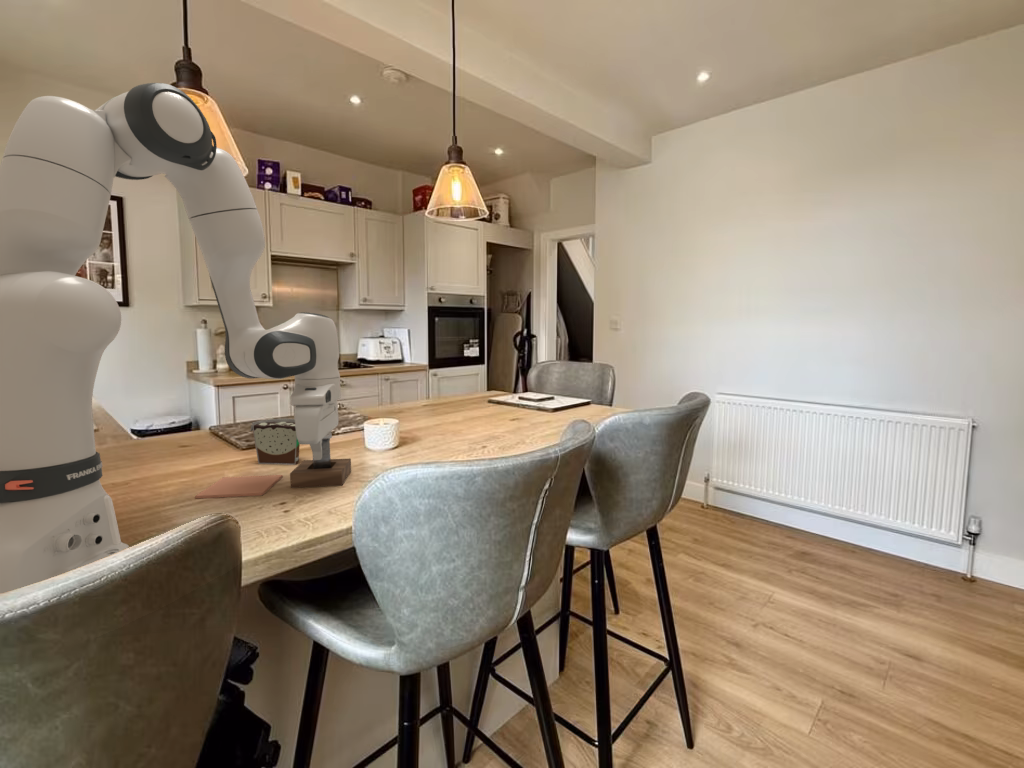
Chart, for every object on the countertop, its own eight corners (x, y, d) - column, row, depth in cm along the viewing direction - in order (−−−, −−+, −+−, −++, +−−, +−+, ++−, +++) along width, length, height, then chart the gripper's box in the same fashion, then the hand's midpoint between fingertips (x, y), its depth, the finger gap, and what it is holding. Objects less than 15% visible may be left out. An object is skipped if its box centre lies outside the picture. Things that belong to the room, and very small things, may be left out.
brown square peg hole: (342, 485, 99) (341, 471, 99) (290, 487, 98) (289, 473, 98) (351, 471, 109) (350, 458, 109) (304, 473, 108) (304, 460, 108)
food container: (314, 458, 121) (312, 418, 120) (301, 464, 115) (299, 423, 114) (267, 457, 122) (265, 417, 121) (252, 463, 116) (249, 422, 115)
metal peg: (331, 481, 102) (328, 435, 101) (309, 482, 101) (306, 435, 100) (335, 475, 106) (333, 430, 105) (314, 476, 106) (312, 431, 104)
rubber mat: (262, 495, 94) (262, 492, 94) (195, 498, 92) (195, 496, 92) (282, 476, 105) (282, 474, 105) (223, 479, 104) (223, 477, 104)
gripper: (315, 386, 111) (318, 445, 113) (287, 398, 91) (291, 469, 93) (344, 385, 112) (346, 444, 114) (322, 397, 92) (325, 468, 94)
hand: (321, 455), depth 103 cm, fingers open, 4 cm apart
